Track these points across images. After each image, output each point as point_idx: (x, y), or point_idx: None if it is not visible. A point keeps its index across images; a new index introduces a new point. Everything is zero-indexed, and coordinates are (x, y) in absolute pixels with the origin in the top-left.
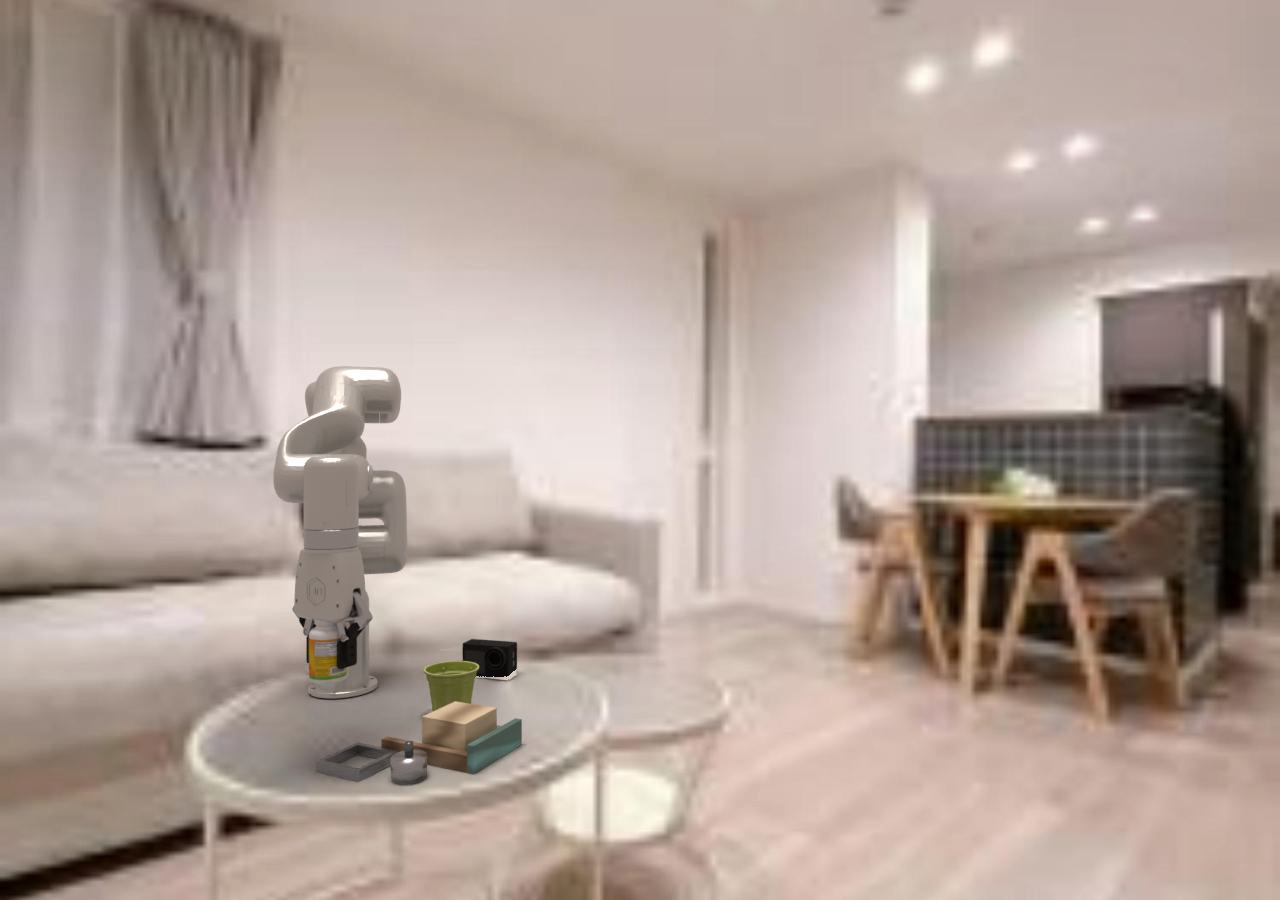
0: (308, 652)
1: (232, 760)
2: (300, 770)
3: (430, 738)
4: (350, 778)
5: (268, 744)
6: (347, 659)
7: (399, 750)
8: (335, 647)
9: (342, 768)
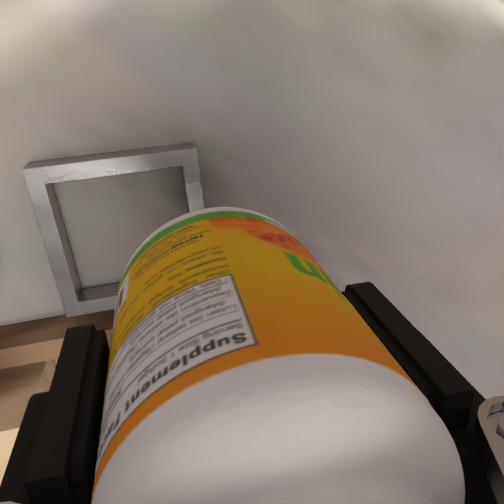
0: (382, 317)
1: (450, 73)
2: (239, 127)
3: (8, 389)
4: (60, 159)
5: (445, 189)
6: (30, 399)
7: (81, 323)
8: (105, 421)
9: (88, 160)
